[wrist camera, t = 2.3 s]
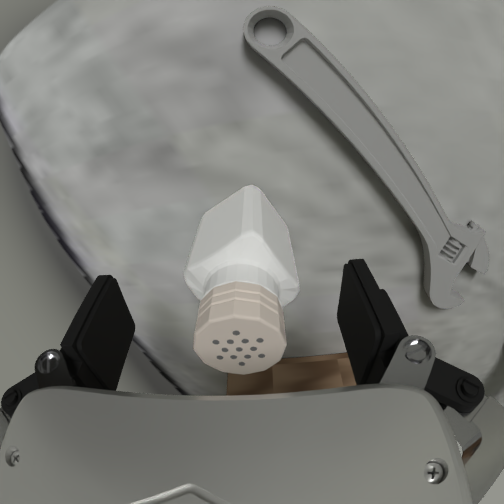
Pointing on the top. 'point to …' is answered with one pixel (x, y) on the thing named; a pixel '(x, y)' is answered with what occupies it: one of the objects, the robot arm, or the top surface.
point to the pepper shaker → (241, 283)
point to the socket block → (295, 376)
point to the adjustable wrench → (375, 151)
